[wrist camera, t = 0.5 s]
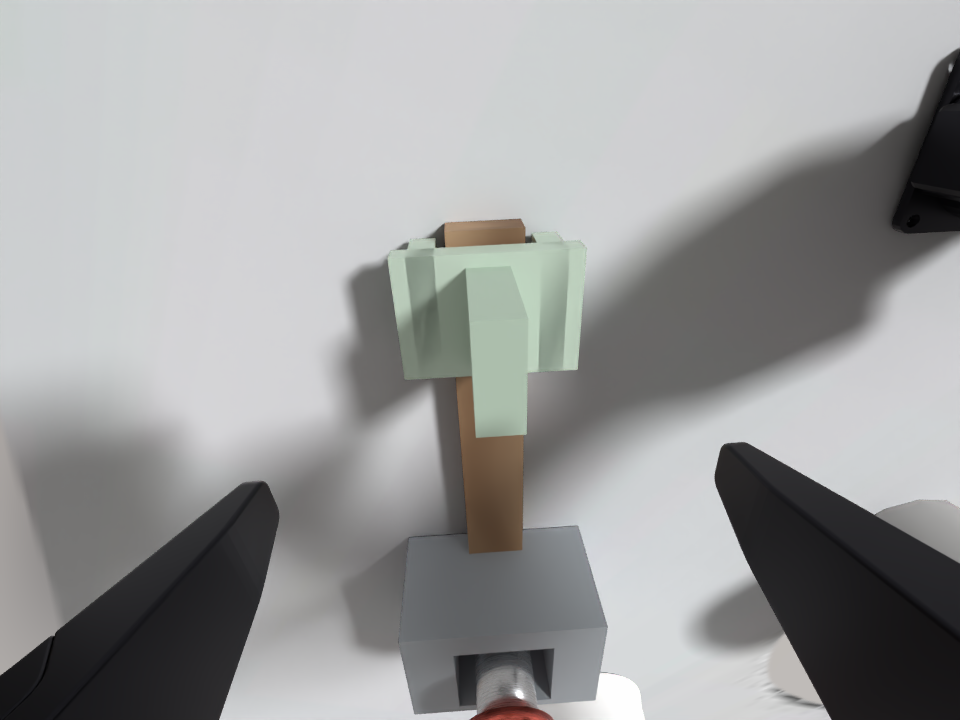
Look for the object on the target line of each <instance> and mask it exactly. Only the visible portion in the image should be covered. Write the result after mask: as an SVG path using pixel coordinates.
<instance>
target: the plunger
mask: <svg viewBox="0 0 960 720" xmlns="http://www.w3.org/2000/svg"><path fill="white" fill-rule="evenodd" d="M475 673H476V698H477V715H476V716H474V717H473V718H471V719H470V720H554V719H553V718H552V717H551V716H550V715H549V714H548V713H546V712H544V711H542V710H539V709H538V705H537V698H536V691H535V684H534V676H533V669H532V662H531V655H530V650H526V651H512V652H499V653H486V654H475Z"/></svg>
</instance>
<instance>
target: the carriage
mask: <svg viewBox="0 0 960 720" xmlns="http://www.w3.org/2000/svg"><path fill="white" fill-rule="evenodd" d="M586 252H587V248H586V246H585V245H584V244H583V243H582V242H581V241H580V240H577V241H563V239H562V238H561V237H560V235H559V234H558V233H557V232H540V233H532V236H531V243H521V244H502V245H483V246H464V247H445V248H436V238H426V239H410V242H409V245H408V248H407V250H391V251H390V253H389V256H388V258H387V260H388V267H389V274H390V281H391V288H392V295H393V302H394V309H395V316H396V323H397V330H398V337H399V344H400V351H401V358H402V365H403V372H404V379H405V380H415V379H432V378H448V377H465V376H472V386H473V402H474V417H475V432H476V438H481V437H497V436H513V435H527V378H528V373H532V372H548V371H565V370H578V357H579V344H580V331H581V318H582V305H583V292H584V279H585V266H586Z"/></svg>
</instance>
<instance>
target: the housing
mask: <svg viewBox="0 0 960 720" xmlns="http://www.w3.org/2000/svg"><path fill="white" fill-rule="evenodd" d="M607 628H608V626H607V623H606V619H605V616H604V613H603V609H602V606H601V602H600V599H599V595H598V592H597V589H596V585H595V582H594V578H593V575H592V571H591V568H590V564H589V561H588V558H587V554H586V551H585V547H584V544H583V540H582V537H581V534H580V530H579V527H578V526H570V527H556V528H541V529H527V530H523V540H522V550H518V551H504V552H489V553H475V554H469V545H468V534H453V535H439V536H424V537H409V541H408V551H407V561H406V571H405V581H404V591H403V601H402V611H401V621H400V631H399V641H398V643H399V648H400V652H401V657H402V661H403V665H404V670H405V674H406V679H407V683H408V688H409V692H410V697H411V701H412V705H413V710H414V714H426V713H439V712H452V711H465V710H477V698H476V673H475V654H486V653H499V652H512V651H526V650H530V655H531V662H532V669H533V676H534V684H535V691H536V698H537V705H542V704H555V703H568V702H581V701H594V700H596V694H597V688H598V682H599V676H600V670H601V664H602V658H603V652H604V646H605V640H606V634H607Z"/></svg>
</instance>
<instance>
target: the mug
mask: <svg viewBox="0 0 960 720" xmlns="http://www.w3.org/2000/svg"><path fill="white" fill-rule="evenodd" d="M538 709H539V710H542V711H544V712H546V713H548V714H549V715H550V716H551V717H552V718H553V719H554V720H645V717H644V713H643V709H642V704H641V695H640V691H639V689H638V687H637V686H636V684H635V683H634V682H632V681H631V680H629V679H628V678H626V677H623V676H620V675H616V674H611V673H600V676H599V682H598V688H597V694H596V700H594V701H581V702H568V703H555V704H542V705H538Z"/></svg>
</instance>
